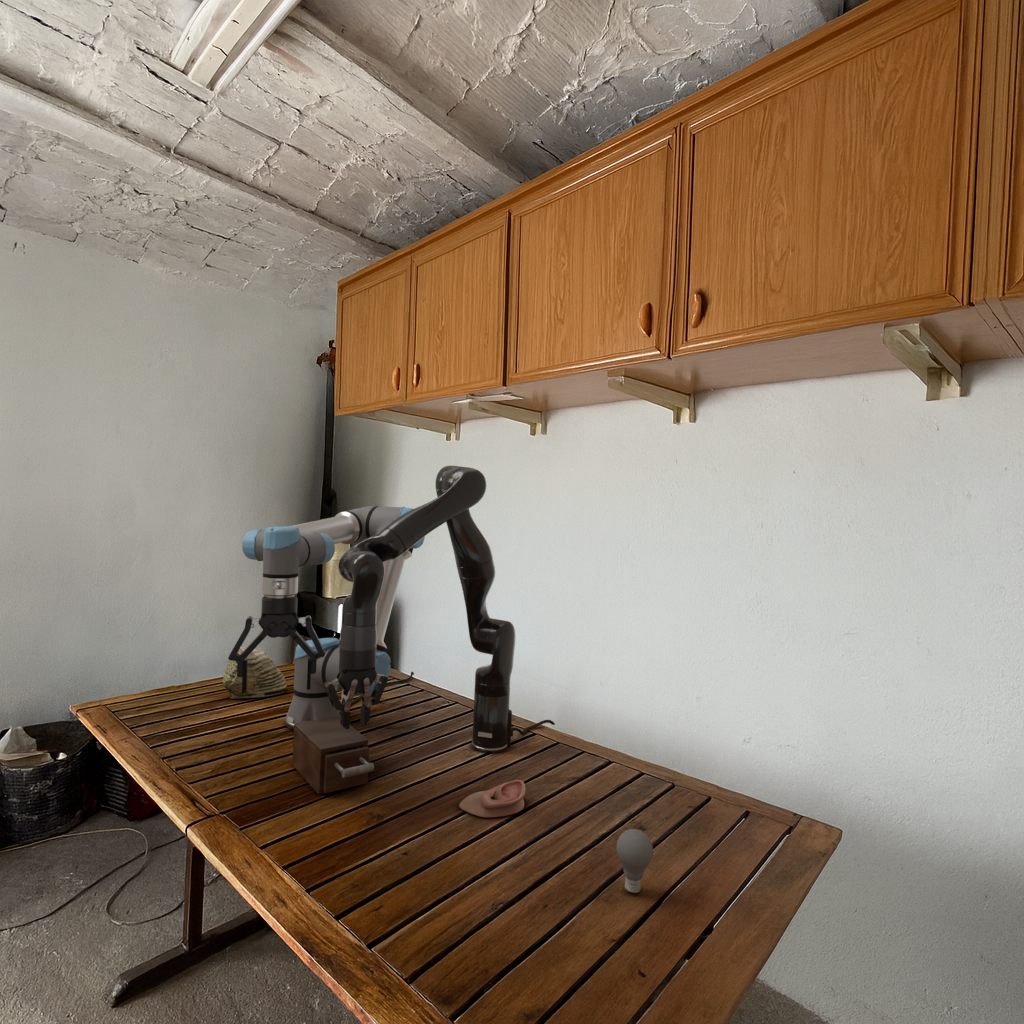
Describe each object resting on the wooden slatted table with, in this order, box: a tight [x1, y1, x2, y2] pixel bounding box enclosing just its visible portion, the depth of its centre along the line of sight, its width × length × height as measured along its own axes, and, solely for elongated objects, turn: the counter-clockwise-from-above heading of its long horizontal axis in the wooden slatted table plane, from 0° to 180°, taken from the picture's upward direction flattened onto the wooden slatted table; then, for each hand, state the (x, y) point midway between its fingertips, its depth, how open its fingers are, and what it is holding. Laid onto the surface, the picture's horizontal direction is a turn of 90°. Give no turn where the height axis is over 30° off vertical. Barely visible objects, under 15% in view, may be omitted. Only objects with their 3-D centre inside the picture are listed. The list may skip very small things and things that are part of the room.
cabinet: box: [292, 716, 369, 796], centre depth 145 cm, size 18×11×10 cm, turn 37°
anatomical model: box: [458, 779, 527, 818], centre depth 133 cm, size 13×4×12 cm
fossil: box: [222, 646, 288, 699], centre depth 198 cm, size 9×18×15 cm, turn 132°
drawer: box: [324, 746, 375, 794], centre depth 140 cm, size 22×10×8 cm, turn 37°
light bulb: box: [615, 828, 654, 894], centre depth 106 cm, size 6×6×10 cm
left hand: (276, 689), depth 142 cm, fingers open, 13 cm apart
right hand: (355, 725), depth 133 cm, fingers open, 3 cm apart
